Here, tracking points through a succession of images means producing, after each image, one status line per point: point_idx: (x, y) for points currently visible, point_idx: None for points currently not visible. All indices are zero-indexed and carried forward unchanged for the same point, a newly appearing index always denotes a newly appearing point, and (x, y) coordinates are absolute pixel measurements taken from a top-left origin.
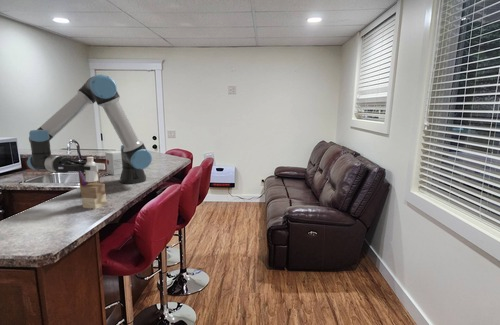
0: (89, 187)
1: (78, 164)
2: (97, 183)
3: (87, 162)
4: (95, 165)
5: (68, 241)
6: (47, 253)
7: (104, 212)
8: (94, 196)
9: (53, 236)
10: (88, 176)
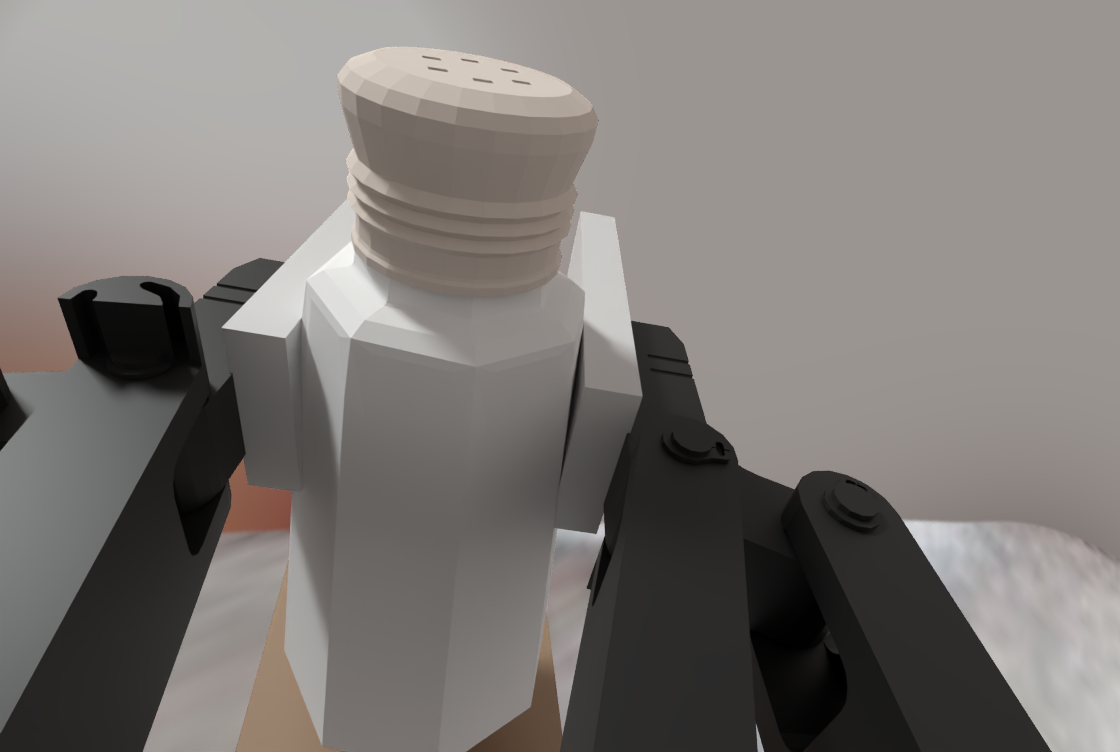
0: (550, 655)
1: (631, 666)
2: (264, 685)
3: (541, 300)
4: (593, 228)
5: (979, 533)
6: (1091, 545)
7: (576, 584)
8: None
9: (1040, 656)
10: (552, 557)
